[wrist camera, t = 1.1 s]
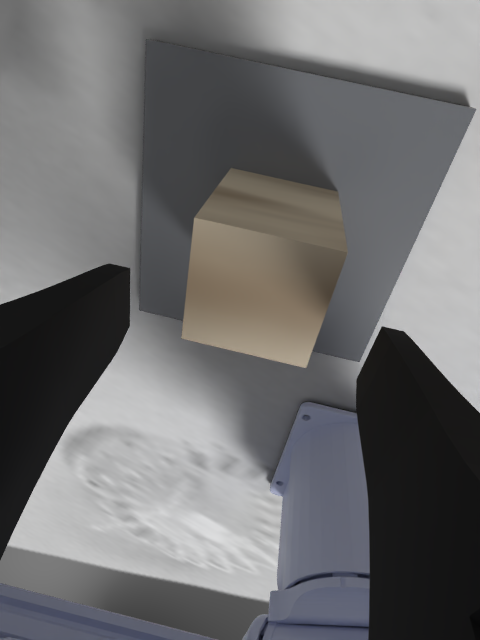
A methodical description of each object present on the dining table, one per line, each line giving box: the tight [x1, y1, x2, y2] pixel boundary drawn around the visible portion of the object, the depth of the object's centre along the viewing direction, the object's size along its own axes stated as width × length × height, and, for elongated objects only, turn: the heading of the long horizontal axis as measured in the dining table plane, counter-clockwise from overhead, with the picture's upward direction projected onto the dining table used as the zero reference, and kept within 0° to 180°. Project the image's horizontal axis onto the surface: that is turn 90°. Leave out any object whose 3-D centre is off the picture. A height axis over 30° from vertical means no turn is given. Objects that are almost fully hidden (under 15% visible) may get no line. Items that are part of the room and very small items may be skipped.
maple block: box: [181, 168, 348, 368], centre depth 15 cm, size 4×4×6 cm
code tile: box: [139, 39, 476, 362], centre depth 18 cm, size 12×12×1 cm
